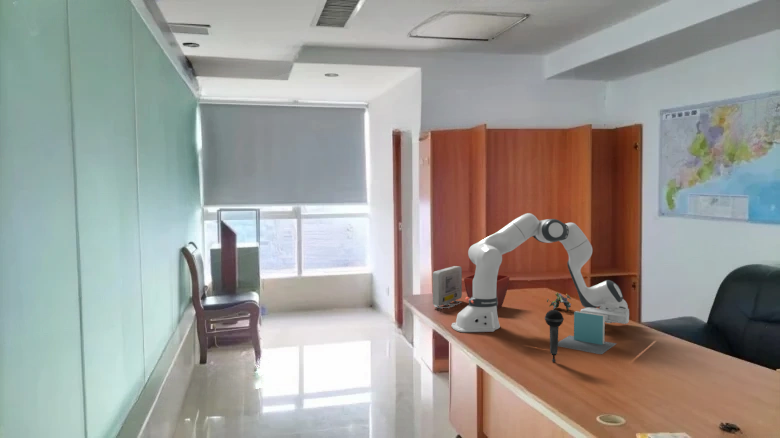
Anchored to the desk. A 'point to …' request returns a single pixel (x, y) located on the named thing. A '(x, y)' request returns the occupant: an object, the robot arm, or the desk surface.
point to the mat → (585, 345)
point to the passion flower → (560, 299)
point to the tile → (589, 327)
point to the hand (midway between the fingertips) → (598, 318)
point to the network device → (447, 286)
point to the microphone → (554, 329)
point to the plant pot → (500, 287)
